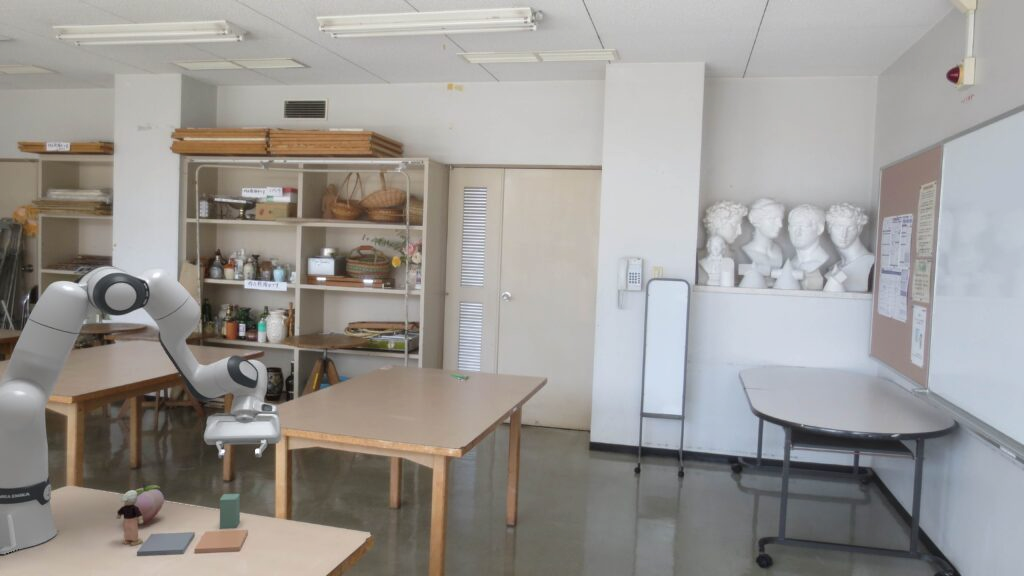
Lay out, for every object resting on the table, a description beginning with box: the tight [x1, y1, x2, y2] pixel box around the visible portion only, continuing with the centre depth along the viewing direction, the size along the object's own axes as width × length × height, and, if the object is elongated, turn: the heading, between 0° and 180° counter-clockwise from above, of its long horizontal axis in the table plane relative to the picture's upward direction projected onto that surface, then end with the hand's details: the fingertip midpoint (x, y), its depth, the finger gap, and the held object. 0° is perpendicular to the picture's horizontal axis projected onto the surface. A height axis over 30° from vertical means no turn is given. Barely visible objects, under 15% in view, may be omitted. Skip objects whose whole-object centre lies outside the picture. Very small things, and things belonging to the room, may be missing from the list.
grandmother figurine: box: [115, 489, 144, 546], centre depth 171 cm, size 8×4×13 cm, turn 84°
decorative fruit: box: [123, 484, 165, 524], centre depth 182 cm, size 9×8×10 cm
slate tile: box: [136, 531, 196, 557], centre depth 170 cm, size 10×10×1 cm
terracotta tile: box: [194, 529, 249, 554], centre depth 172 cm, size 10×10×1 cm
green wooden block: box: [219, 493, 241, 530], centre depth 182 cm, size 4×4×8 cm
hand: (239, 456), depth 194 cm, fingers open, 8 cm apart
